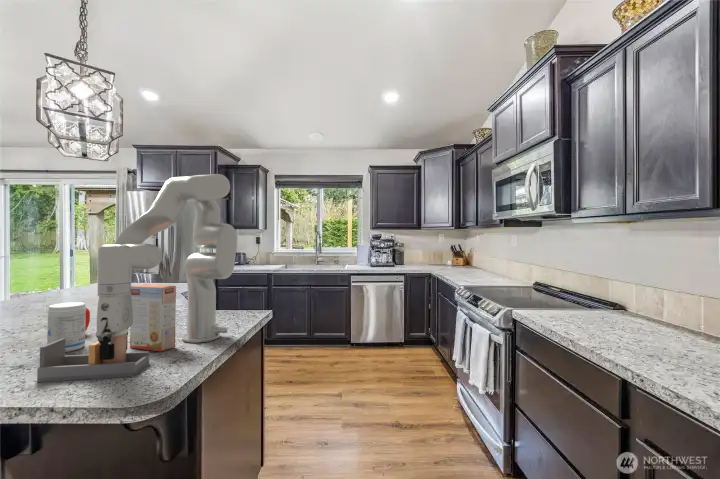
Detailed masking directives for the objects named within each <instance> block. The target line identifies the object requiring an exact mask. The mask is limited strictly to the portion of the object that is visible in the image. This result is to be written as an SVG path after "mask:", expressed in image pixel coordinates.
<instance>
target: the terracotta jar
mask: <svg viewBox="0 0 720 479" xmlns="http://www.w3.org/2000/svg"><path fill="white" fill-rule="evenodd" d="M106 332H111V331H110V330H108V331H106ZM127 333H128V334H129V328H127V329H125V330H123V331H121V332H119V333H115V334H114V339H113V343H112V344H114V358H113V359H110V360H102V364H106V363H124V362H126V353H127V350H126V346H127V347H128V338H127ZM105 336H107V337H108V338H109V337H110V335H105Z"/></svg>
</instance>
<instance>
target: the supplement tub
mask: <svg viewBox="0 0 720 479" xmlns="http://www.w3.org/2000/svg"><path fill="white" fill-rule="evenodd" d="M86 308H87V307H86V303H85V302H80V301H71V302H61V303H55V304H50V305H49V306H48V310H47V311H48V312H47V338H46V339H47V340H46V341H47V344H49V343H52V342H54V341H57V340H59V339H64V338H65V353H68V352H69V353H70V352H74V351H78V350H80V349H83V348H84V346H85V345H86V332H85V325H86ZM47 344H46V345H47Z"/></svg>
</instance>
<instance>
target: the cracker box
mask: <svg viewBox="0 0 720 479" xmlns="http://www.w3.org/2000/svg"><path fill="white" fill-rule="evenodd" d="M176 291H177V285H167V284H147V283H144V284H143V283H141V284H136V285H131V299H132V310H133V324H132V325H131V326H130V327H129V329H130V330H129V331H130V332H129V348H132V349H139V350H146V351H153V352H154V351H155V352H159V353H160V352H164V351H167V350H170V349H173V348H176V320H177V319H176V315H177V312H176V310H177V307H176V305H177V292H176Z"/></svg>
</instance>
